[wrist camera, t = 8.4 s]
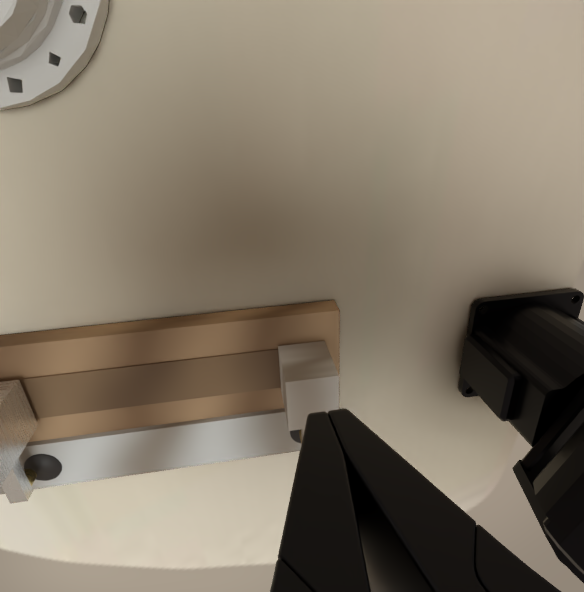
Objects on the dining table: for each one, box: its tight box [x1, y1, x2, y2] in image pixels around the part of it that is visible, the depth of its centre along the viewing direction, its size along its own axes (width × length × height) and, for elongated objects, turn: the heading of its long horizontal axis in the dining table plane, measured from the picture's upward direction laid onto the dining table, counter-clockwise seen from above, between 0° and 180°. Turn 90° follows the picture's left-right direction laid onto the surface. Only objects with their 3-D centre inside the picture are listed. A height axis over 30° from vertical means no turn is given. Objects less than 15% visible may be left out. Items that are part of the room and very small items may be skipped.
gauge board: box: [0, 300, 340, 494], centre depth 20 cm, size 20×9×4 cm, turn 93°
